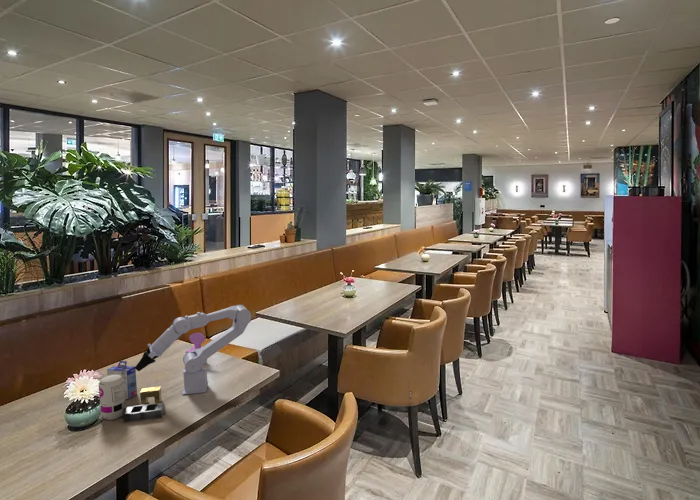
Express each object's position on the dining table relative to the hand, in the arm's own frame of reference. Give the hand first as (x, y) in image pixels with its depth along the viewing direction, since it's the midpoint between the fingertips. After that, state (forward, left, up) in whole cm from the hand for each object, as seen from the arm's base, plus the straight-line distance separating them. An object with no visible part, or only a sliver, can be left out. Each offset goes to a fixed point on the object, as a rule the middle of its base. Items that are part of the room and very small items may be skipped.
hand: (138, 367), depth 165 cm
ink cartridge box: (+8, -7, -15) cm, 18 cm away
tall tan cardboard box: (-5, +3, -14) cm, 15 cm away
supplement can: (+7, +9, -15) cm, 19 cm away
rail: (-4, +13, -14) cm, 20 cm away
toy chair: (-18, -34, -15) cm, 41 cm away
